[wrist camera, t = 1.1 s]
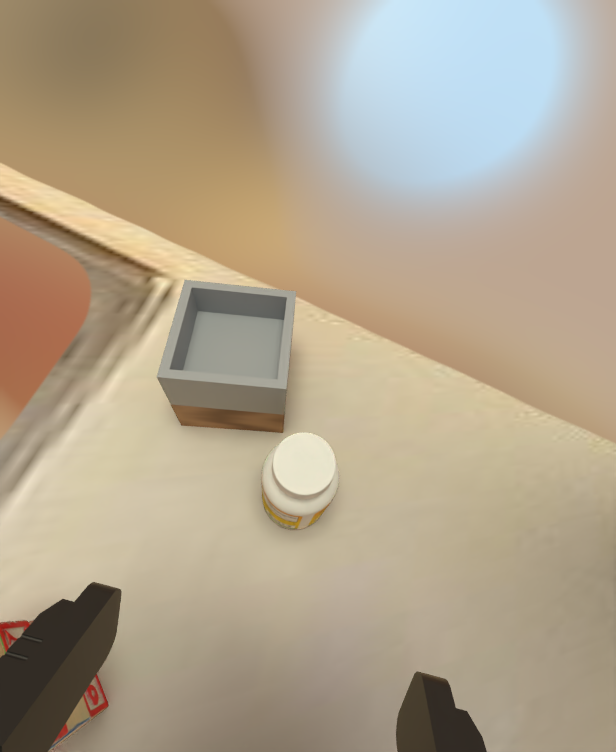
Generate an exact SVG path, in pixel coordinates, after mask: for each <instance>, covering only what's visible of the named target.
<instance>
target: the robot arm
mask: <svg viewBox="0 0 616 752" xmlns="http://www.w3.org/2000/svg"><path fill="white" fill-rule="evenodd" d="M120 601H121V590H120V589H118V588H114V587H110V586H107V585H103V584H99V583H96V582H93V583H91V584H90V585H88V586H87V588H86V589H85V590H84V591H83V592H82V593H81V595H80V596H79V597H78V598H77V600H76V601H75V602H72V601H69V600H65V599H62V600H60V601H59V602H57V603H56V604H54V605H53V606H51V607H50V608H48V609H46V610H45V611H43V612H42V613H40V614H39V615H38V616H37V618H36V619H35V620H34V621H33V622H32V623H31V624H30V625H29V626H28V628H27V629H26V630H25V631H24V632H23V633H22V635H21V637H20V638H18V639H17V640H16V641H15V642H14V643H13V644H12V645H11V646H10V647H9V649H8V650H7V652H6V653H5V655H2V656H1V657H0V752H48V751H49V749H50V747H51V746H52V744H53V743H54V741H55V739H56V738H57V736H58V735H59V733H60V731H61V730H62V728H63V727H64V725H65V723H66V722H67V720H68V719H69V717H70V715H71V714H72V712H73V711H74V709H75V708H76V706H77V704H78V703H79V701H80V700H81V698H82V696H83V695H84V693H85V692H86V690H87V688H88V687H89V685H90V684H91V682H92V680H93V679H94V677H95V676H96V674H97V672H98V671H99V669H100V668H101V666H102V664H103V663H104V661H105V659H106V658H107V656H108V654H109V652H110V650H111V647H112V645H113V642H114V640H115V636H116V632H117V625H118V617H119V609H120ZM396 741H397V751H398V752H486V748H485V745H484V741H483V738H482V736H481V734H480V733H479V731H478V729H477V727H476V726H475V724H474V722H473V721H472V719H471V717H470V715H469V714H468V712H467V711H464V710H460V709H457V708H456V707H455V704H454V700H453V696H452V692H451V688H450V685H449V683H448V681H447V680H446V679H443V678H440V677H436V676H432V675H429V674H425V673H421V672H416V673H415V674H414V676H413V679H412V681H411V684H410V686H409V688H408V691H407V693H406V696H405V698H404V701H403V703H402V706H401V708H400V711H399V714H398V719H397V729H396Z"/></svg>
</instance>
